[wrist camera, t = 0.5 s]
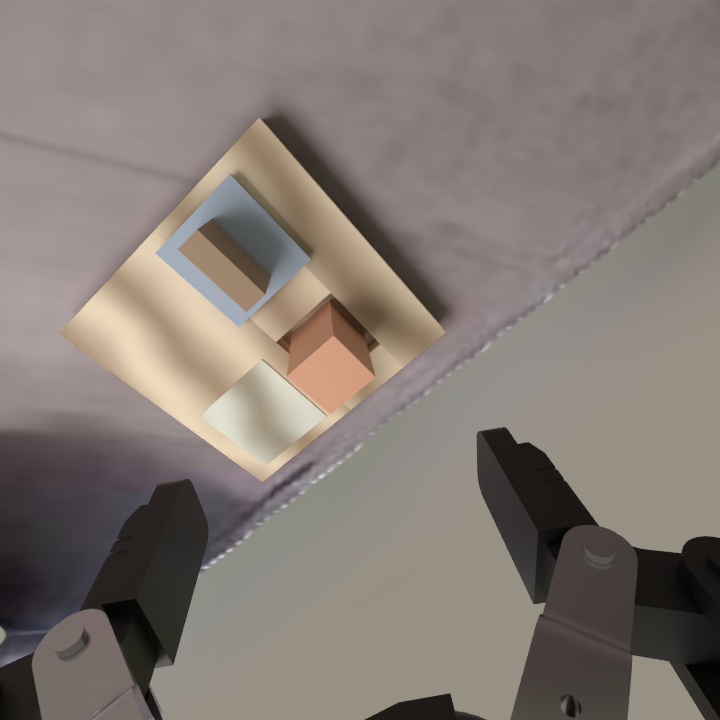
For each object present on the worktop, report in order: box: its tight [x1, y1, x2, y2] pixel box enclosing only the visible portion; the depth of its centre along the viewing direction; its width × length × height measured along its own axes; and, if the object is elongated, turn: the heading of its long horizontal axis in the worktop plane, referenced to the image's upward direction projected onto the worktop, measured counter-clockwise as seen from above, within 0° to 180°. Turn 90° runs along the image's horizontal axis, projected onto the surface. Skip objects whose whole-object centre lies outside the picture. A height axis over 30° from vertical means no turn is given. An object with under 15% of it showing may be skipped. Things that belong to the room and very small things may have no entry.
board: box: [59, 118, 446, 482], centre depth 33 cm, size 20×19×2 cm
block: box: [287, 300, 376, 414], centre depth 31 cm, size 4×4×7 cm
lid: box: [155, 174, 311, 327], centre depth 27 cm, size 7×7×5 cm
